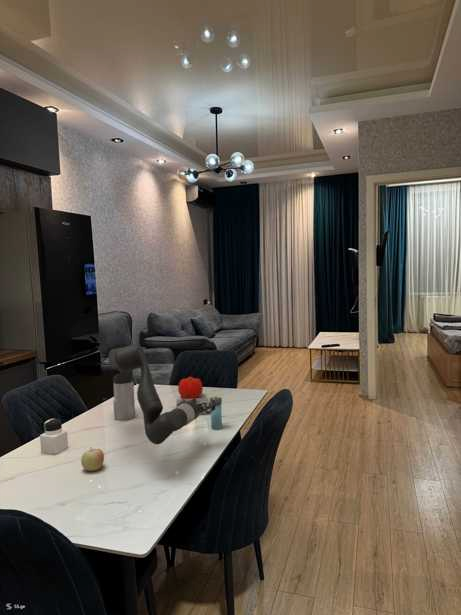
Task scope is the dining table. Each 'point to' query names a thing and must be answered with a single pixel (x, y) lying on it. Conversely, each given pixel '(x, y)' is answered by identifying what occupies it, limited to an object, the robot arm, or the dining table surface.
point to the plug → (216, 414)
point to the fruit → (92, 459)
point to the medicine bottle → (53, 437)
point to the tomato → (190, 388)
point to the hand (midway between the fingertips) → (204, 401)
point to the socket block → (198, 400)
